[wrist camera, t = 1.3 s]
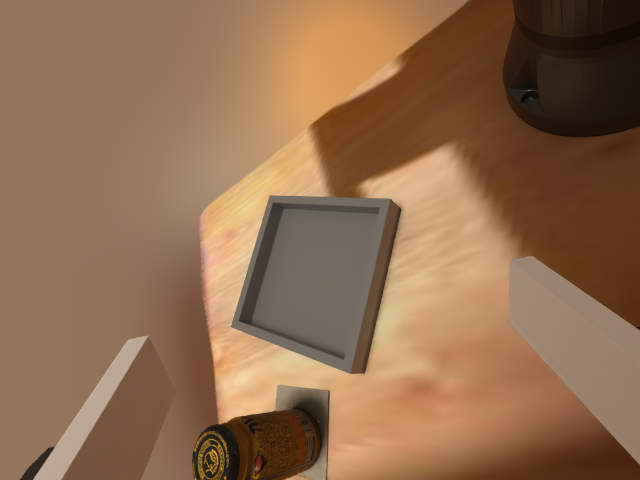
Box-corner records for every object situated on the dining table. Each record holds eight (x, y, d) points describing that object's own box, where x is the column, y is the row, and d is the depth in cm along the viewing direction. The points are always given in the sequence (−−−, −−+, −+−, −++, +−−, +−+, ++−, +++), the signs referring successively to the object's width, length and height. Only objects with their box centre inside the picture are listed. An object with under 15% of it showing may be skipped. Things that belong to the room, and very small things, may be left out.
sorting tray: (283, 203, 50) (269, 195, 47) (401, 209, 39) (390, 198, 36) (247, 329, 46) (231, 327, 44) (364, 373, 36) (350, 373, 33)
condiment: (272, 467, 39) (177, 499, 29) (278, 385, 41) (193, 390, 32) (327, 483, 35) (237, 525, 25) (330, 390, 37) (250, 398, 28)
